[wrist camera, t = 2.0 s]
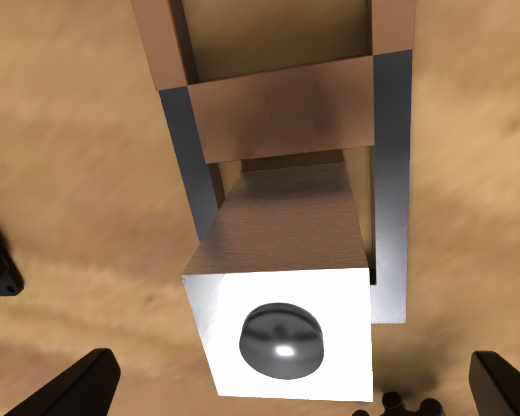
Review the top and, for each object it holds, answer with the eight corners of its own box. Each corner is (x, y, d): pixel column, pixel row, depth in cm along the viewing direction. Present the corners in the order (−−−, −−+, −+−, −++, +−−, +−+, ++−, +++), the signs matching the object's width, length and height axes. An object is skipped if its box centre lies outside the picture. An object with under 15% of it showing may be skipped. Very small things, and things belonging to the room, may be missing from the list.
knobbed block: (257, 256, 17) (216, 404, 10) (241, 172, 15) (176, 282, 8) (350, 252, 16) (374, 411, 9) (344, 161, 14) (370, 276, 7)
